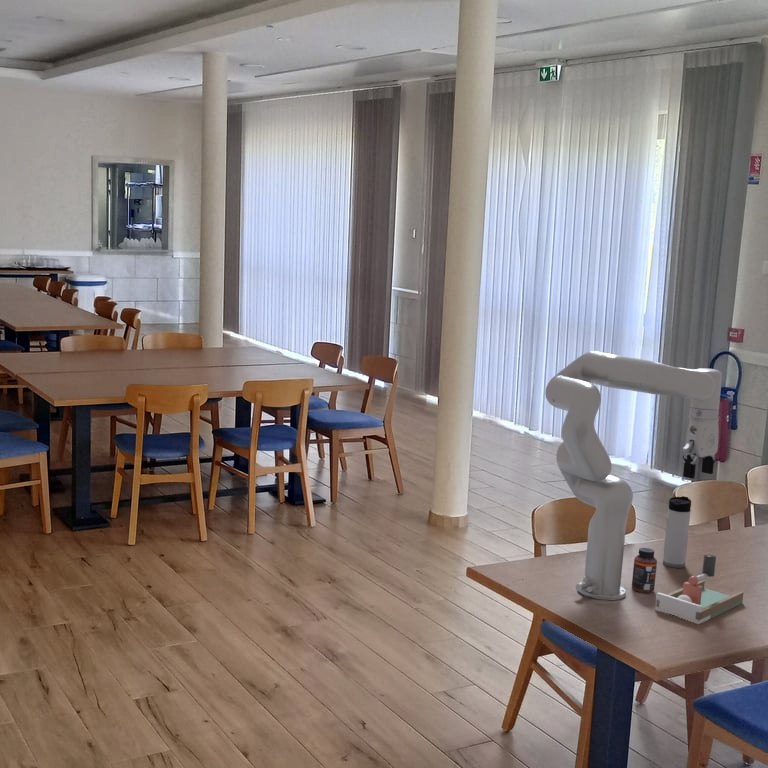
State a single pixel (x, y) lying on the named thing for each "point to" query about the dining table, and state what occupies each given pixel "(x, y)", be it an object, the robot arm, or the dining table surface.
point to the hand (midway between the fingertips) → (697, 475)
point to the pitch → (708, 608)
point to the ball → (685, 598)
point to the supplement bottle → (644, 571)
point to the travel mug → (677, 532)
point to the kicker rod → (699, 579)
